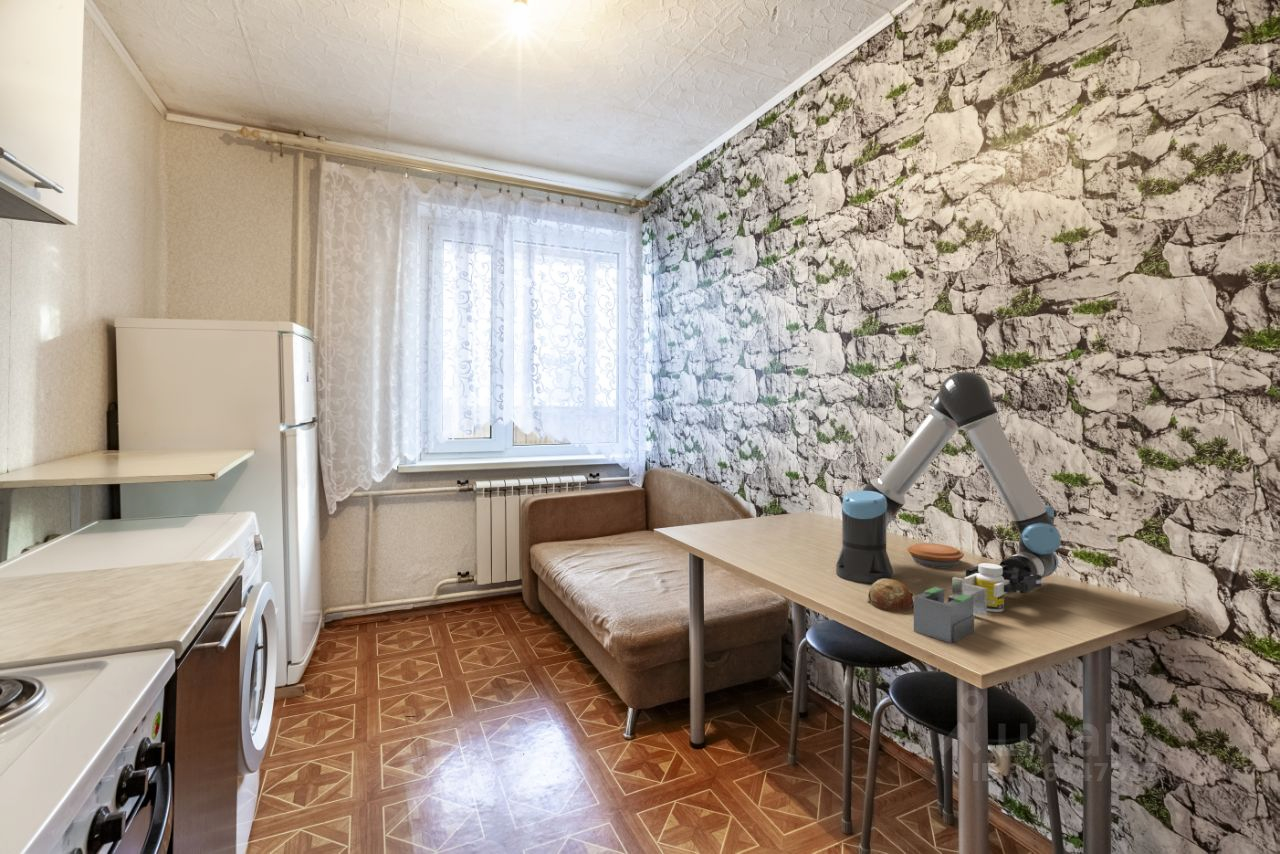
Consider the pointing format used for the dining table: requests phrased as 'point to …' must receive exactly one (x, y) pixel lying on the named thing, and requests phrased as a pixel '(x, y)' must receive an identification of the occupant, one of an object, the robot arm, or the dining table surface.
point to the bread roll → (890, 595)
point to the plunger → (970, 590)
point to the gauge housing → (943, 615)
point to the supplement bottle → (991, 584)
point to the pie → (935, 554)
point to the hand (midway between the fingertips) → (980, 587)
